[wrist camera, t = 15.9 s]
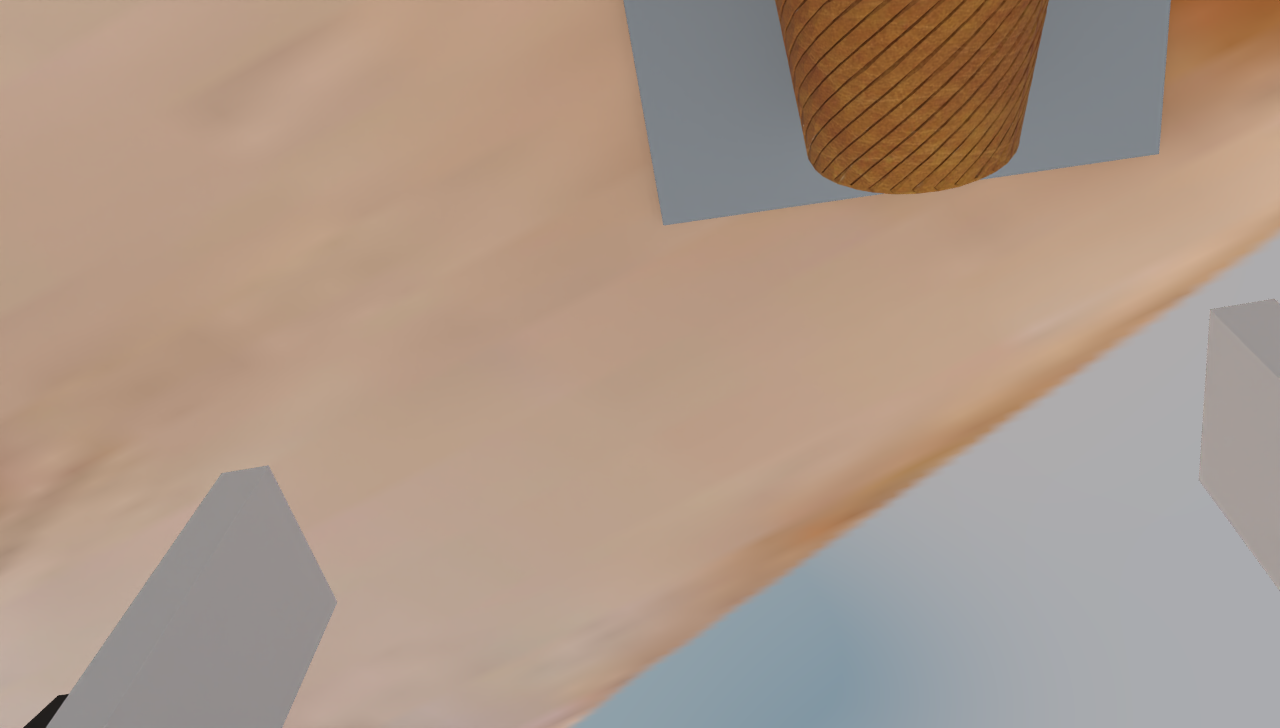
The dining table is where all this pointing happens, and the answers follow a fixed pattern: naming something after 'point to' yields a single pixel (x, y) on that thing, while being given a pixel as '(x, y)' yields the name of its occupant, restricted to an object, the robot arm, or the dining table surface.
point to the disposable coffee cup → (911, 87)
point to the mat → (769, 119)
